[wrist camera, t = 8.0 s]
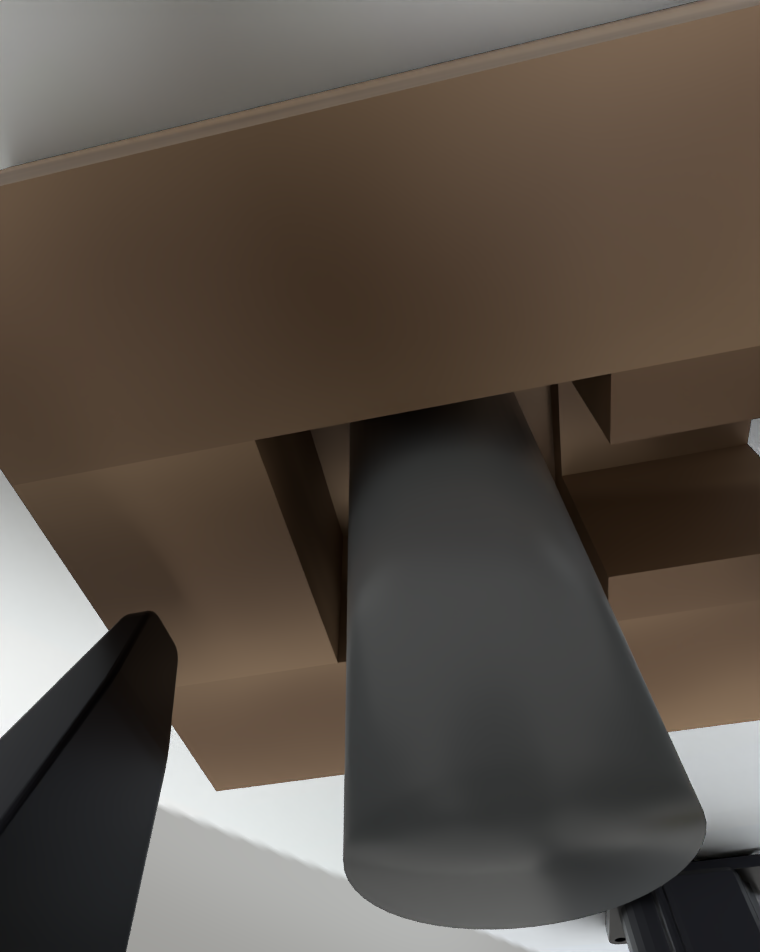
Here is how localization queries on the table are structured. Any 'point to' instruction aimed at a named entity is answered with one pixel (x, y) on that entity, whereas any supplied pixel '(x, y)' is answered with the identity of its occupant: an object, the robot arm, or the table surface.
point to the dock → (400, 355)
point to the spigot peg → (492, 690)
